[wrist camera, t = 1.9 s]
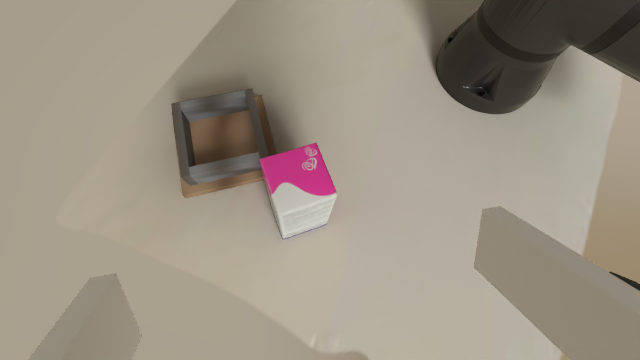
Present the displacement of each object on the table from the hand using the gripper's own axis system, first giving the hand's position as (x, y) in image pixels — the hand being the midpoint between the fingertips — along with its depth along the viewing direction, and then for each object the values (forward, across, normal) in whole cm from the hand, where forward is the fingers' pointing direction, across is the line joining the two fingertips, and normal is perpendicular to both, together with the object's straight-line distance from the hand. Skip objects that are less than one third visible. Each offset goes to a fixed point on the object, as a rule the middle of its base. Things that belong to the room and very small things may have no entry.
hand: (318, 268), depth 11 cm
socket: (+32, -7, -3) cm, 32 cm away
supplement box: (+24, +1, -11) cm, 27 cm away
